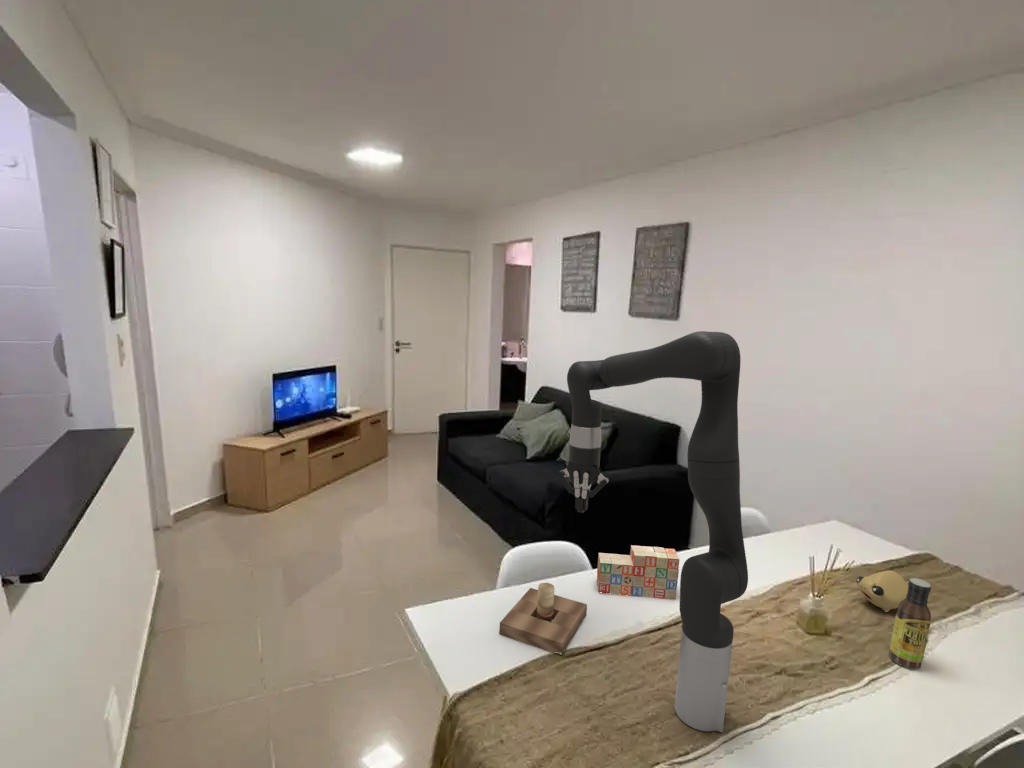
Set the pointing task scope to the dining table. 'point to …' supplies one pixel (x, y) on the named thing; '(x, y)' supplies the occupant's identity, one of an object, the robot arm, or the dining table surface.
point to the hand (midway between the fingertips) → (581, 511)
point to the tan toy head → (883, 589)
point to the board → (543, 622)
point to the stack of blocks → (639, 572)
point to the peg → (545, 601)
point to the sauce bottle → (911, 626)
